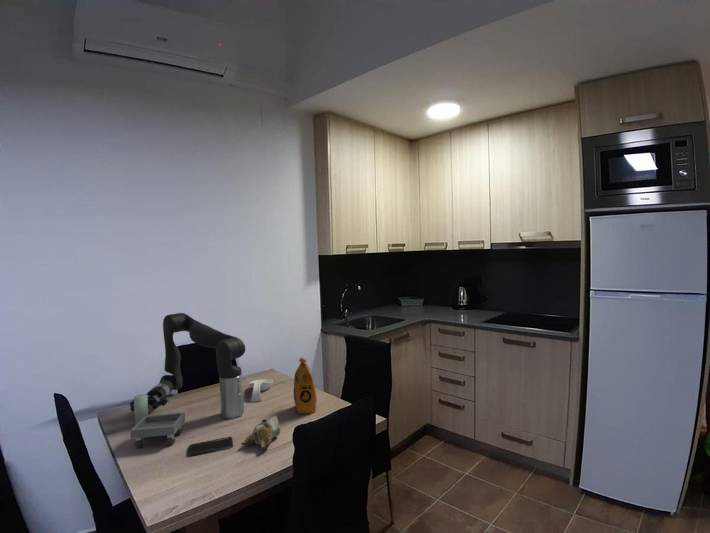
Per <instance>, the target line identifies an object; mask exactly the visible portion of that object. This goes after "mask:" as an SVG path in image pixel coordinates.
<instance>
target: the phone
mask: <svg viewBox="0 0 710 533" xmlns="http://www.w3.org/2000/svg"><path fill="white" fill-rule="evenodd" d="M233 447H234V443H233V437H232V436H228V437H222V438H216V439H211V440H206V441H201V442H196V443H191V444H190V445H189V446H188V450H187V457H195V456H200V455H205V454H209V453H214V452H221V451H225V450H229V449H232V448H233Z"/></svg>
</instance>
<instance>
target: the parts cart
mask: <svg viewBox="0 0 710 533" xmlns="http://www.w3.org/2000/svg"><path fill="white" fill-rule="evenodd" d="M185 422H186V413H185V412H180V413H166V414H152V415H149V416H144V417H143V418H142V419H141V420H140V421H139V422H138V423H137V424H136V425H135V424H134V426H133V427H132V428H131V429H130V430H129V432H130V439H135V442H134V447H136V448H137V449H139V448H142V447H143V446H144V445H145V440H144V439H143V438H150V437H160V436H161V437H162V436H163V437H164V436H167V437H166V445H168V446H170V445H174V444H175V442H176V437H175V435H177V436H178V435H180V434H182V433H183V427H182V425H183V424H184V423H185Z"/></svg>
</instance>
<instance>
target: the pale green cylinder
mask: <svg viewBox="0 0 710 533" xmlns="http://www.w3.org/2000/svg"><path fill="white" fill-rule="evenodd" d="M133 400H134V411H133V412H134V426H135V425H136V424H137V423H138V422H139V421H140V420H141V419H142V418H143V417H144V416H150V415H149V405H148V395H147V393H144V394H142V393H141V394H138V395H134V397H133Z"/></svg>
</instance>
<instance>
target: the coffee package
mask: <svg viewBox="0 0 710 533" xmlns="http://www.w3.org/2000/svg"><path fill="white" fill-rule="evenodd" d="M298 360H299V362H300V363H299V366H298V367H297V369H296V371H295V373H294V379H293V401H294V404H295V405H294V406H295V407H296V411H297V413H298V414H299V415H308V414H315V413H316V412H317V405H318V404H317V390H316V385H315V381H314V377H313V376H312V373H311V369H310V366H309V365H308V364H307V360H306V359H305V358H303V357H299V359H298Z"/></svg>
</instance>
